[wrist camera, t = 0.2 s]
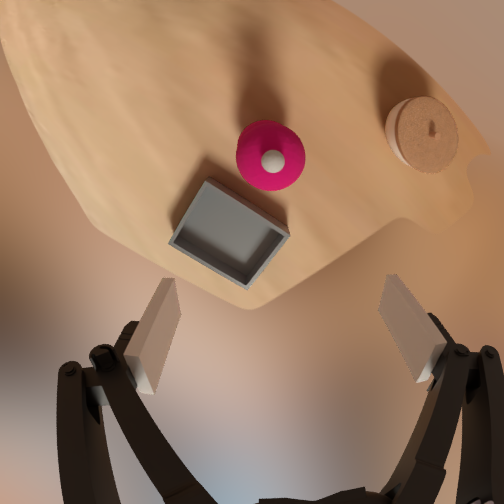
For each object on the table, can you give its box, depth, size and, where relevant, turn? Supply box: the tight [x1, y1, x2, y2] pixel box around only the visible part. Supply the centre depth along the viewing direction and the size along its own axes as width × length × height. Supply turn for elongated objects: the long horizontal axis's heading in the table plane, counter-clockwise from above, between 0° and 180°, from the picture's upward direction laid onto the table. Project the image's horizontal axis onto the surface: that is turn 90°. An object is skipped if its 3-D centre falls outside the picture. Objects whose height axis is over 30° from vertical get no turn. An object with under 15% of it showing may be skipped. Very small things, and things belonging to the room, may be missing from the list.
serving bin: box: [168, 176, 290, 290], centre depth 42 cm, size 14×11×4 cm
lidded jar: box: [385, 96, 458, 174], centre depth 32 cm, size 11×11×9 cm
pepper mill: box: [236, 120, 305, 191], centre depth 29 cm, size 7×7×20 cm
